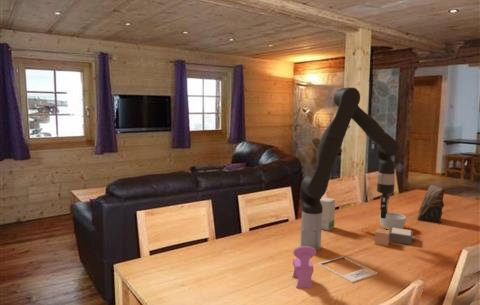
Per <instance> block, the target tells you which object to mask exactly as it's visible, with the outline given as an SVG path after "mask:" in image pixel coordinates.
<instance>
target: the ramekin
mask: <svg viewBox="0 0 480 305" xmlns="http://www.w3.org/2000/svg"><path fill="white" fill-rule="evenodd" d="M406 221H407V217H406V216H405V215H404V214H402V213H401V214H400V213H398V212H392V211H391V212H390V211H387V214H386V218H385V219H384V218H381V212H380V213H379V225H380V227H381V226H382V227H384V228H389V229H391V227H392V228H399V229H402V228H403V229H404V228H405V225H406ZM382 227H381V228H382ZM384 228H383V229H384Z"/></svg>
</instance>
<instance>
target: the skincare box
mask: <svg viewBox="0 0 480 305" xmlns="http://www.w3.org/2000/svg"><path fill="white" fill-rule="evenodd" d="M320 202H321V204H322V207H323V211H322V230H323V231H330V230H332V229H333V228H335V218H336V217H335V215H336V198H329V197H323V198H320Z"/></svg>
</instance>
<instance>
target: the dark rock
mask: <svg viewBox="0 0 480 305" xmlns="http://www.w3.org/2000/svg"><path fill="white" fill-rule="evenodd" d="M444 193H445V188H443V187H440V186H437V185H435V184H432V183H431V184H430V185H429V187H428V188H427V191H426V193H425V195H424V197H423V200H422V202H421V205H420V208H419V211H418V214H417V221H420V222H421V221H422V222H426V223H427V222H428V223H434V224H441V219H442V216H443V208H444V206H445V204H444V195H445V194H444Z"/></svg>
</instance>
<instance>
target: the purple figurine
mask: <svg viewBox="0 0 480 305" xmlns="http://www.w3.org/2000/svg"><path fill="white" fill-rule="evenodd" d="M292 253H293V255H294V256H295V257H296V258H293V259H292V266H293V267H294V269H293V274H292V276H291V277H292V278H293V277H296V278H295V279H297V277H298V279H297V284H296V286H295V288H296V289H314V286H313V282H312V276H313V273H314V265H313V264H312V261H311V259H312V258H314V256H316V254H317V251H316V250H315V249H314V248H312V247H309V246H302V247H300V246H298V247H296V248H295V249H293V252H292ZM293 279H294V278H293Z"/></svg>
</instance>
